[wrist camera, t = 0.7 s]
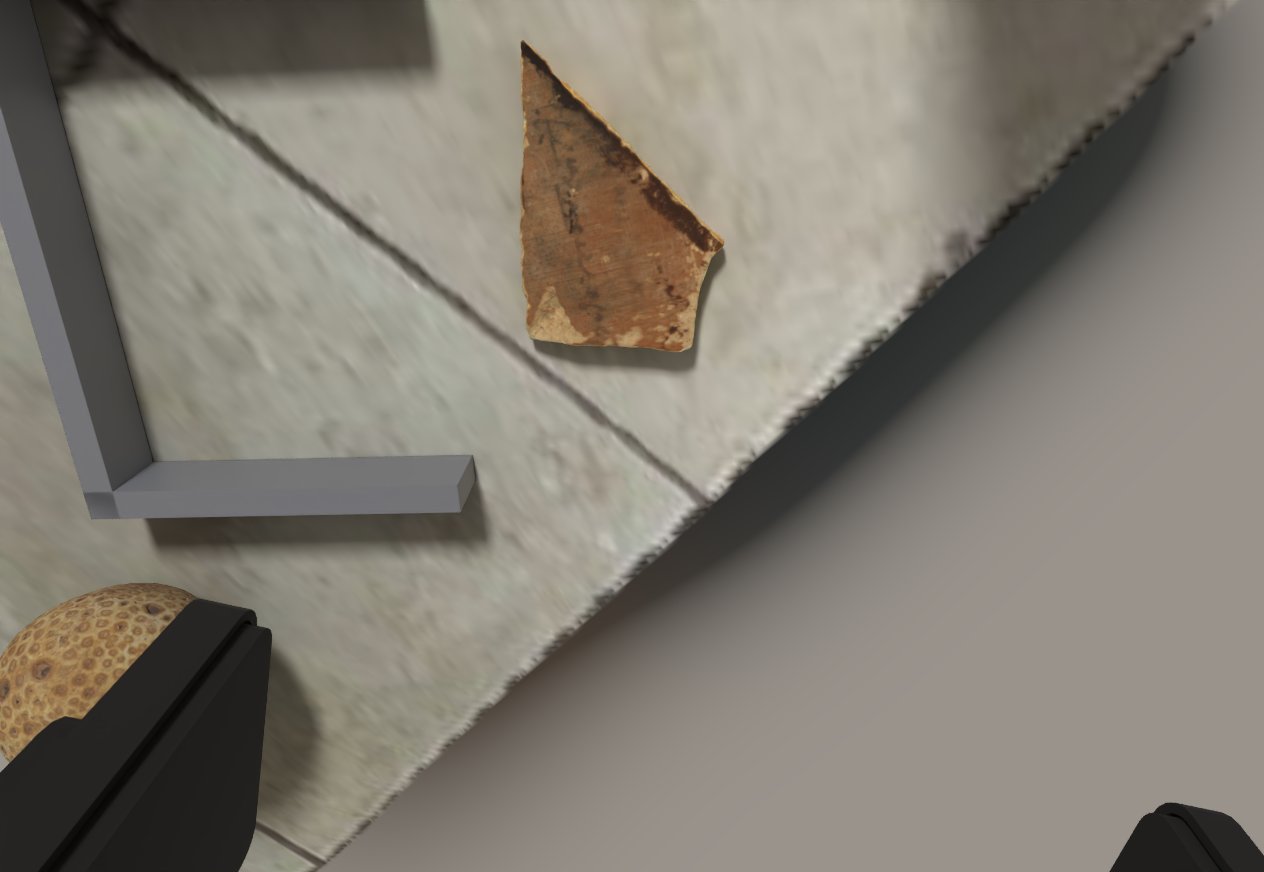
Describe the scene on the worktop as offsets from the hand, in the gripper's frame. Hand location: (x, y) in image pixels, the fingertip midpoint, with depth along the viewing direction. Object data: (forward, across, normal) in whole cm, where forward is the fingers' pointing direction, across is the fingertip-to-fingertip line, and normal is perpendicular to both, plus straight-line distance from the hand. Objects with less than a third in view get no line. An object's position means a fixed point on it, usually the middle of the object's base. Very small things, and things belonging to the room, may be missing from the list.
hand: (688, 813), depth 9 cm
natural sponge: (+27, +18, +20) cm, 38 cm away
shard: (+28, +4, -1) cm, 28 cm away
